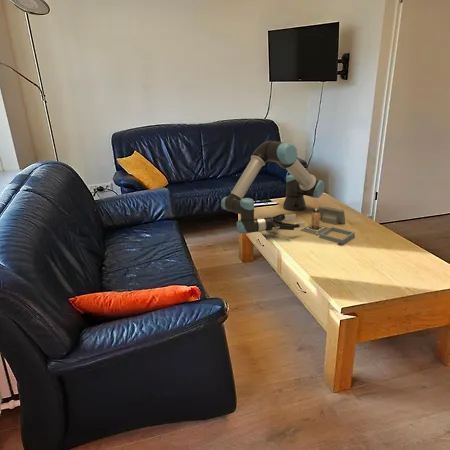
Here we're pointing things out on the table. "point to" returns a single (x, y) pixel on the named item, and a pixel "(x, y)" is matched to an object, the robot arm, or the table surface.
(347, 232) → the tray
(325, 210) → the digital clock
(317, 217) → the cell
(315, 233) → the checker pad
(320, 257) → the table surface
